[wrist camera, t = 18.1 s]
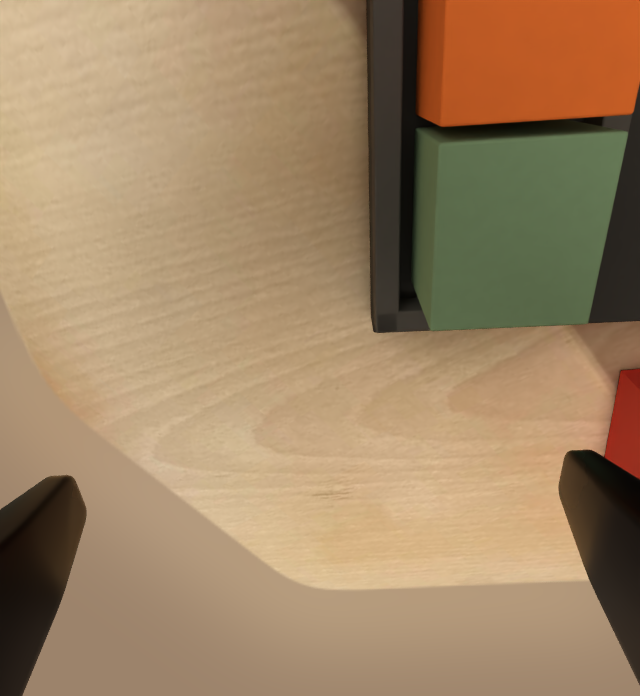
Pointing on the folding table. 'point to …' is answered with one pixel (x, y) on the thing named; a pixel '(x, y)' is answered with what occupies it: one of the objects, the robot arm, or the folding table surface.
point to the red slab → (626, 424)
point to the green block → (511, 221)
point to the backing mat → (398, 178)
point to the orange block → (526, 60)
